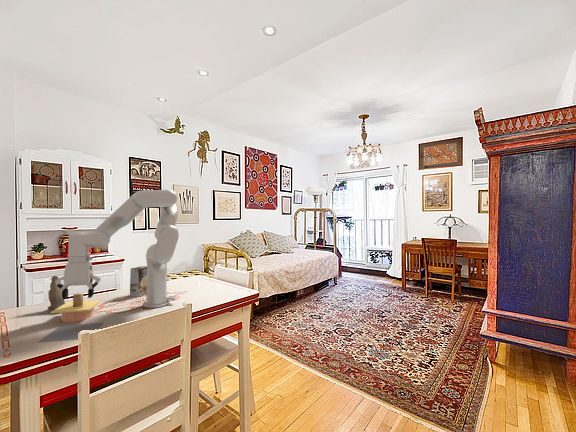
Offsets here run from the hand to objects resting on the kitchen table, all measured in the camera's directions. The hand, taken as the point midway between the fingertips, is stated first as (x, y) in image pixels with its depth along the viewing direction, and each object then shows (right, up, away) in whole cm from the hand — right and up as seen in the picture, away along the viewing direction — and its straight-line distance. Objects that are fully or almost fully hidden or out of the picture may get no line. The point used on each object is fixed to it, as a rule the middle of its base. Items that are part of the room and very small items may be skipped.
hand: (77, 297), depth 125 cm
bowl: (0, -9, 0) cm, 9 cm away
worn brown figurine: (-17, -9, +10) cm, 22 cm away
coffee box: (+7, -10, +39) cm, 41 cm away
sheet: (0, -4, 0) cm, 4 cm away
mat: (+10, -9, -16) cm, 21 cm away
